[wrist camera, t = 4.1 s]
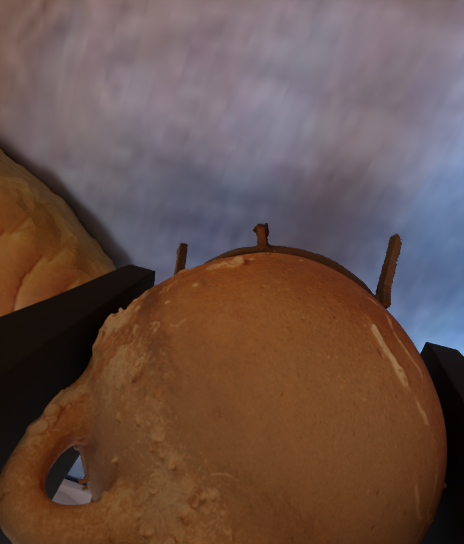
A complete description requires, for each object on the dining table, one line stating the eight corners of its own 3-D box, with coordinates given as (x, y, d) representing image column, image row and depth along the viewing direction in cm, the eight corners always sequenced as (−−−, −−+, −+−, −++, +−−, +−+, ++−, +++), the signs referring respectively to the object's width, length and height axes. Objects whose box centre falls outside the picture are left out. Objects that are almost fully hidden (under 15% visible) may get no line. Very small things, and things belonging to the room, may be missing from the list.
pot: (417, 367, 12) (400, 138, 9) (498, 833, 5) (549, 616, 2) (217, 373, 14) (143, 188, 11) (103, 724, 7) (-173, 520, 4)
